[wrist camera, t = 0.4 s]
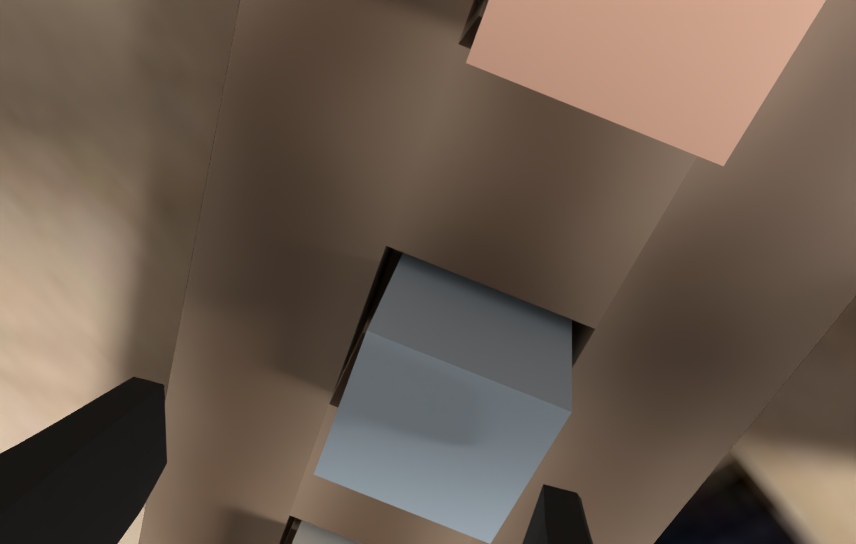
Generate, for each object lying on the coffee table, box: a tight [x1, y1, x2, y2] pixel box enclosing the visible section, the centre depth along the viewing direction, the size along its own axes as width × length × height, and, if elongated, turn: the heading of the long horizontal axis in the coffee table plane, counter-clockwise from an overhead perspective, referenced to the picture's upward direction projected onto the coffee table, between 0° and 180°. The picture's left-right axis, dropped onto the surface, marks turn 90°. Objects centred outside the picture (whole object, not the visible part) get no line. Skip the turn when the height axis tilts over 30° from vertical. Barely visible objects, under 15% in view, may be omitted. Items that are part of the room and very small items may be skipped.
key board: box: [139, 0, 856, 544], centre depth 19 cm, size 14×31×4 cm, turn 161°
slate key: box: [314, 253, 572, 544], centre depth 16 cm, size 4×4×4 cm
